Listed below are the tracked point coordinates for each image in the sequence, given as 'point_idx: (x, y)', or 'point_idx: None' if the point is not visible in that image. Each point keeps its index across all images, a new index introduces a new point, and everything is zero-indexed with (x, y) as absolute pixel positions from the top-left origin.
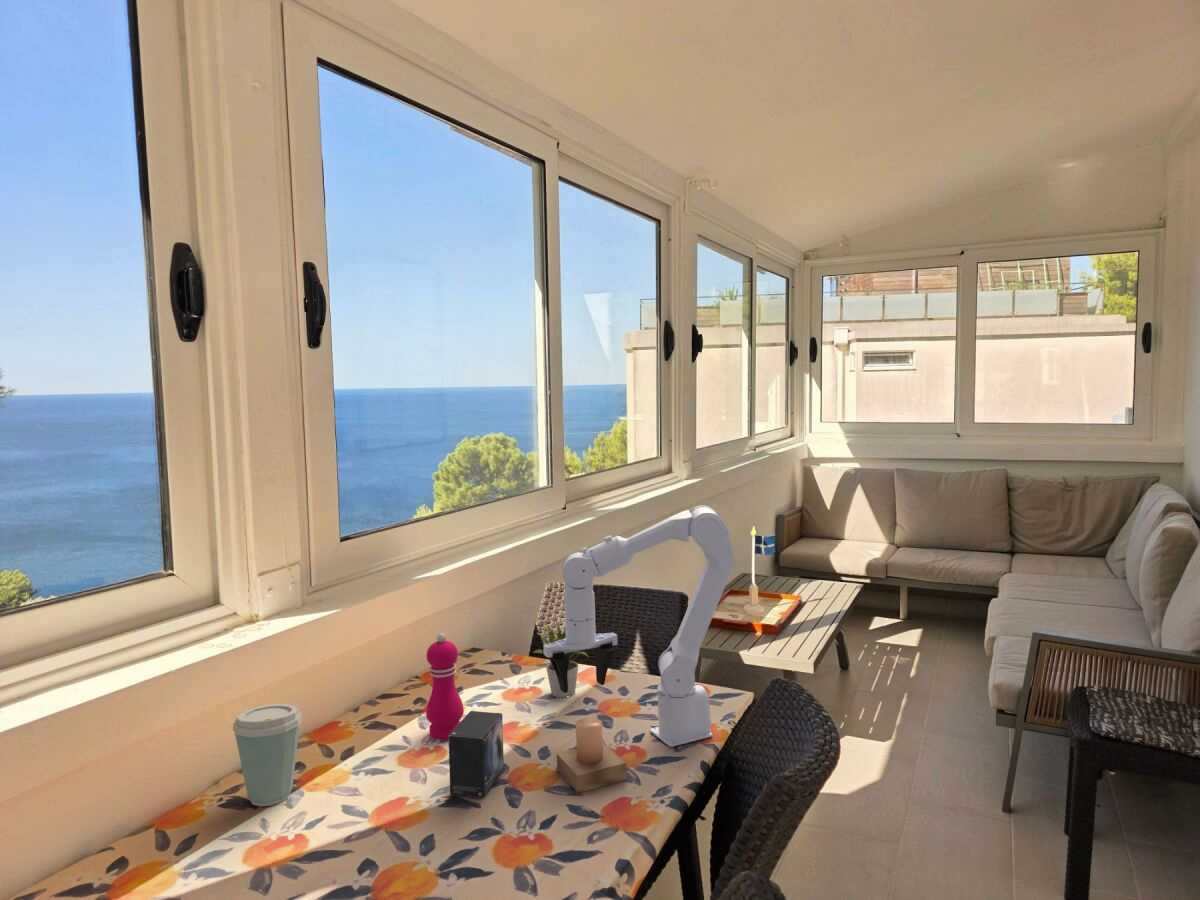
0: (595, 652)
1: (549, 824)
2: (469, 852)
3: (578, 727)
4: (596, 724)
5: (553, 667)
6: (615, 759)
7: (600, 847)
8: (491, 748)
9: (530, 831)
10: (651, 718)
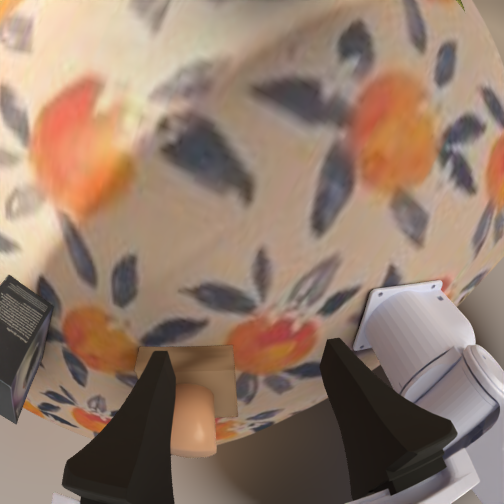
0: (382, 440)
1: None
2: (54, 407)
3: None
4: (202, 453)
5: (107, 424)
6: (228, 408)
7: None
8: (26, 391)
9: (101, 414)
10: (413, 233)
